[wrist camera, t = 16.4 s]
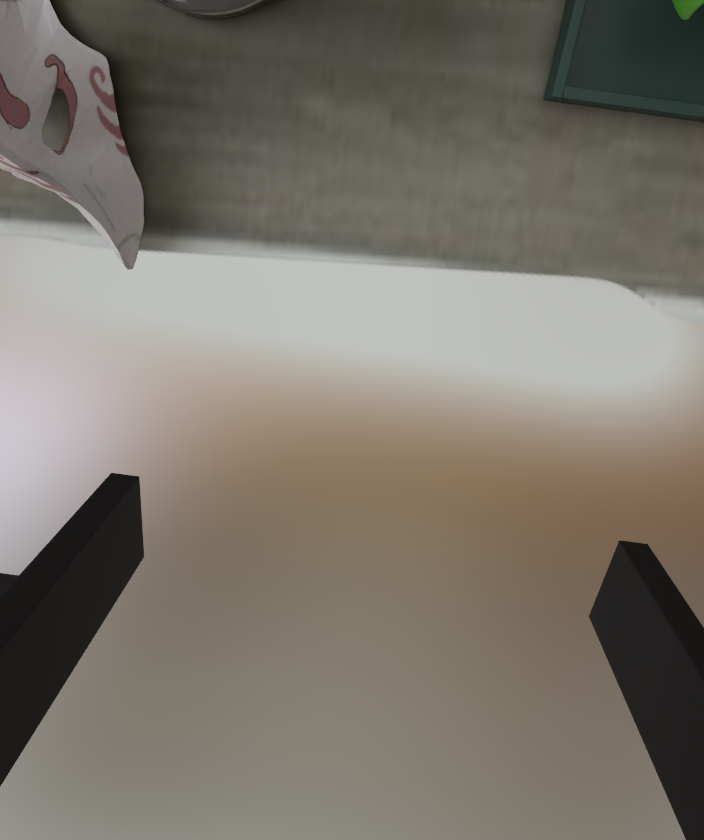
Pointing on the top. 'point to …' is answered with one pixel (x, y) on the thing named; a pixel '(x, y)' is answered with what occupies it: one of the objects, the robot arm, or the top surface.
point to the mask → (89, 123)
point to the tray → (630, 58)
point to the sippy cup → (686, 7)
